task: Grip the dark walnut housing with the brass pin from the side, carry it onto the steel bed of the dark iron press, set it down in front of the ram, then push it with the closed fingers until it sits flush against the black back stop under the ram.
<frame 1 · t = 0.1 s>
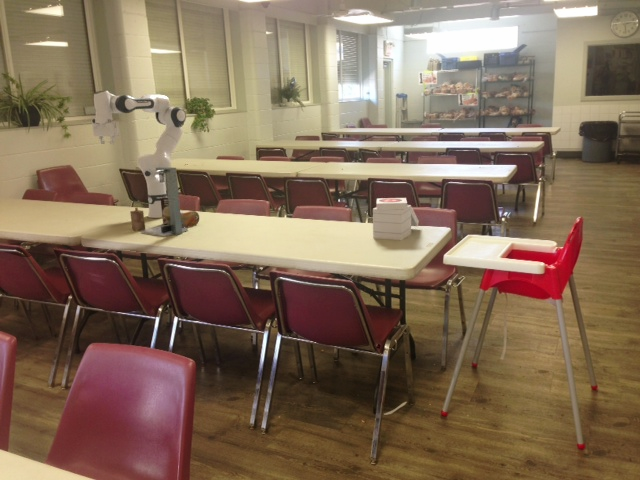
hand: (107, 144, 331), 48 cm above the table, tool pointing down, fingers open, 8 cm apart
coffee box: (171, 224, 341), on the table
tin: (188, 226, 332), on the table
pizza boxes: (395, 233, 295), on the table
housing: (138, 230, 326), on the table
press: (164, 231, 319), on the table
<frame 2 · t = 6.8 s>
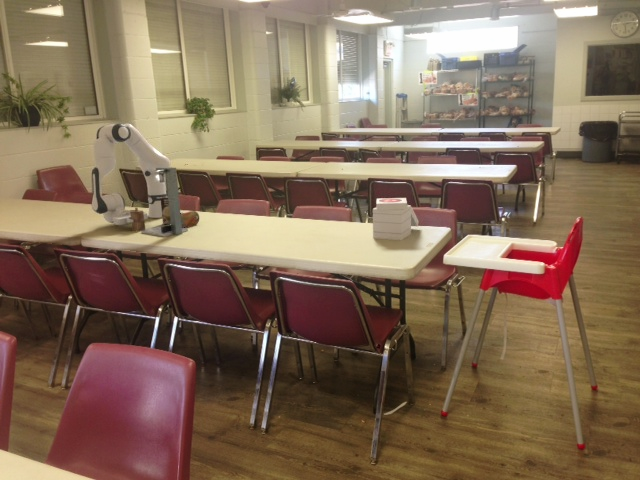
hand: (138, 219, 324), 6 cm above the table, tool horizontal, fingers closed on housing, 5 cm apart
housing: (138, 230, 326), on the table, touching gripper
everything else where it was.
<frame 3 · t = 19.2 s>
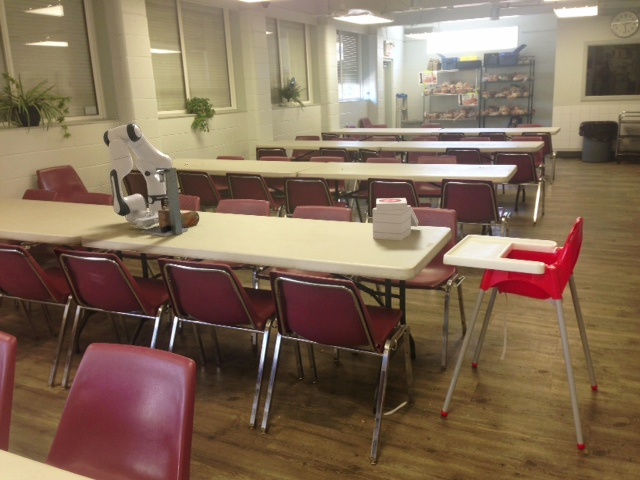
hand: (162, 221, 318), 6 cm above the table, tool horizontal, fingers closed, pressing on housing
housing: (166, 229, 318), point 2 cm above the table, touching gripper
everything else where it was.
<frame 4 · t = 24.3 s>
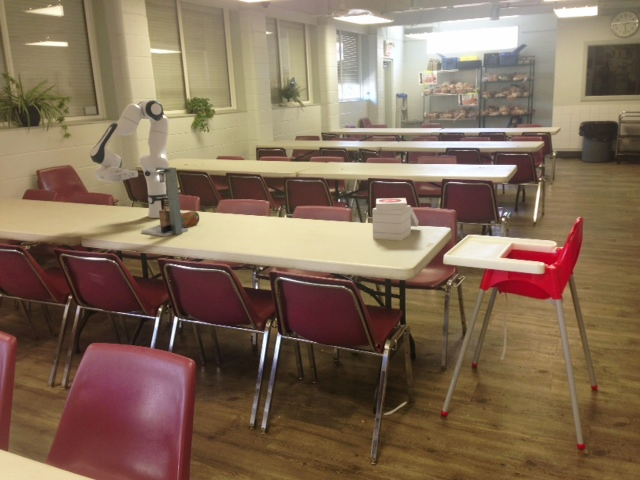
hand: (128, 176, 326), 30 cm above the table, tool horizontal, fingers closed
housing: (167, 229, 317), point 1 cm above the table, touching press
everything else where it was.
at the end: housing 0.1 cm from the target spot on the press, point 1.5 cm above the press's base; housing tilted 0°; the gripper is holding nothing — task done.
